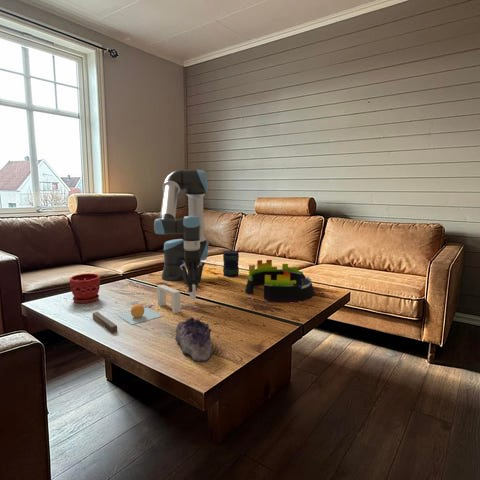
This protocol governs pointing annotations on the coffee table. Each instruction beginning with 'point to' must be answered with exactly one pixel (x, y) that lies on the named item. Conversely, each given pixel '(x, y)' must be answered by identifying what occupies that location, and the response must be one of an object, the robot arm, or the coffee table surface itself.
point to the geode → (194, 339)
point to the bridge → (175, 297)
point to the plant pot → (85, 287)
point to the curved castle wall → (279, 283)
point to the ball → (137, 311)
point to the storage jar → (230, 263)
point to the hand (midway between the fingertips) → (192, 298)
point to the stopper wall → (105, 322)
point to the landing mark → (146, 316)
